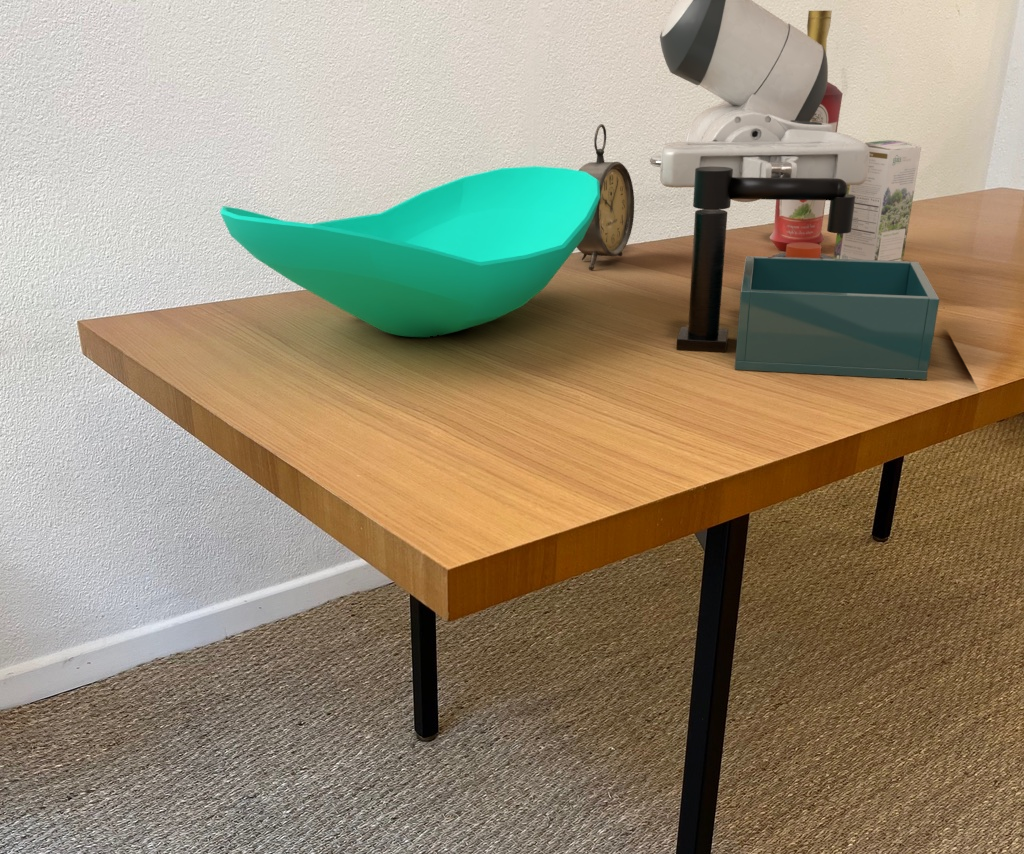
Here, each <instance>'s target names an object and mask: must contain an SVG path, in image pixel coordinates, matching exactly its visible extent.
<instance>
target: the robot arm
mask: <svg viewBox="0 0 1024 854" xmlns="http://www.w3.org/2000/svg"><path fill="white" fill-rule="evenodd" d="M659 41H660V48H661V52H662V55H663V58H664V61H665V64H666V66H667V68H668V70H669V73H670V74H673V75H674V76H677V77H678V78H680V79H683V80H685V81H687V82H689V83H691V84H693V85H695V86H700V87H702V88H704V89H705V90H706V91H708V92H710V93H712V94H713V95H715V96H716V97H718V98H720V99H721V100H723V101H721V102H720V103H718V104H715V105H712V106H709V107H706V108H705V109H703V110H701V111H700V112H698V114H696V115H695V116H694V118H692V120H690V123H689V125H688V126H687V129H686V132H685V135H684V141H675V142H667V143H664V144H663V145H662V146H661V148H660V149H661V151H660V154H652V155H651V156H650V157H649V158H650V159H649V163H650V165H651V166H653V167H656V168H657V167H658V168H659V169H660V170H659V180H660V184H661V185H662V186H663V187H667V188H694V183H695V169H696V168H698V167H710V166H715V167H728V168H732V169H733V176H732V177H753V178H838V179H842V180H844V181H845V182H846V184H847V185H860V184H863V183H864V182H865V180H866V177H867V172H868V165H869V154H870V153H869V147H868V146H867V145H866V144H865V142H864V141H861V140H859V139H858V138H855V137H854V136H850V135H848V134H845V133H840V132H837V133H836V132H833V126H832V125H830V124H827V123H819V122H810V120H811V119H812V117H813V116H814V114H815V113H816V111H817V109H818V107H819V105H820V103H821V101H822V99H823V97H824V95H825V92H826V88H827V82H829V81H828V76H829V65H828V64H829V63H828V57H827V56H828V55H827V51H826V52H825V49H824V47H823V45H820V44H819V43H818V42H816V41H815V40H813V39H812V38H810V37H809V36H808V35H807V34H806V33H804V32H803V31H802V30H800V29H798V28H797V27H795V26H794V25H792V24H791V23H787V22H786V21H784V20H783V19H781V18H779V17H778V16H776V15H775V14H773V13H772V12H771V11H769V10H767V9H766V8H764V7H763V6H762V5H760V4H758V3H756V2H755V1H754V0H677V1H676V2H675V4H674V5H673V6H672V8H671V9H670V11H669V12H668V14H667V17H666V19H665V21H664V24H663V27H662V29H661V32H660V35H659ZM759 200H761V199H731V201H734V202H739V203H752V202H756V201H759Z"/></svg>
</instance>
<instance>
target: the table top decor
mask: <svg viewBox="0 0 1024 854" xmlns="http://www.w3.org/2000/svg"><path fill="white" fill-rule="evenodd" d="M578 170H579V169H578ZM578 170H577V169H571V168H567V167H566V168H565V167H550V166H539V165H538V166H536V165H535V166H518V167H501V168H496V169H492V170H487V171H484V172H479V173H476V174H475V173H474V174H471V175H467V176H463V177H460V178H457V179H455V180H452V181H449V182H446V183H443V184H440V185H438V186H435V187H433V188H430V189H428V190H425V191H422V192H420V193H417V194H416V195H414V196H412V197H410V198H408V199H405V200H403V201H402V202H400V203H398V204H396V205H394V206H392V207H389V208H388V209H386V210H384V211H382V212H380V213H372V214H365V215H358V216H352V217H346V218H340V219H333V220H327V221H319V222H315V223H307V222H299V221H298V222H297V221H291V220H289V221H288V220H282V219H279V218H275V217H273V216H269V215H265V214H262V213H259V212H255V211H251V210H246V209H243V208H238V207H231V206H222V207H221V209H220V216H221V218H222V220H223V222H224V224H225V227H226V229H227V231H228V233H229V235H230V236H231V238H233V239H234V240H235V241H236V242H237V243H238V244H239V245H240V246H242V247H243V249H245V250H246V251H247V252H248V253H249V254H250V255H251V256H253V258H255V259H256V260H258V261H259V262H261V263H262V264H264V265H266V266H267V267H269V268H270V269H272V271H275V272H277V273H278V274H280V275H281V276H282V277H284V278H286V279H288V280H289V281H291V282H292V283H294V284H296V285H298V286H299V287H301V288H303V289H305V290H307V291H308V292H310V293H312V294H313V295H315V296H317V297H319V298H320V299H322V300H324V301H326V302H328V303H330V304H331V305H333V306H335V307H337V308H339V310H342V311H344V312H346V313H348V314H350V315H352V316H353V317H355V318H358V319H359V320H361V321H363V322H365V324H368V325H370V326H372V327H374V328H376V329H378V330H379V331H381V332H384V333H386V334H387V333H388V334H391V335H394V336H401V337H406V338H407V337H409V338H410V337H411V338H431V337H430V336H433V337H438V336H437V335H439V336H444V335H448V334H453V333H456V332H460V331H464V330H466V329H470V328H474V327H476V326H479V325H483V324H487V323H489V322H492V321H496V320H497V319H499V318H502V317H504V316H506V315H508V314H509V313H511V312H513V311H516V310H518V309H521V307H523V306H525V304H527V303H528V302H529V301H530V300H532V299H533V298H534V297H535V296H537V295H538V294H540V292H542V290H544V289H545V288H546V287H547V285H548V284H549V283H550V281H552V279H553V278H554V277H555V275H556V274H557V273H558V272H559V270H560V269H561V268H562V266H563V265H564V264H565V262H566V261H567V260H568V259H569V258H570V256H571V255H572V254H573V252H574V251H575V250H576V249H577V246H578V245H579V243H580V242H581V241H582V240H583V238H584V236H585V234H586V232H587V230H588V228H589V225H590V223H591V221H592V219H593V217H594V215H595V211H596V208H597V205H598V202H599V199H600V186H599V181H598V180H597V179H596V178H594V177H593V176H591V175H590V174H588V173H586V172H584V171H578Z"/></svg>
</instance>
